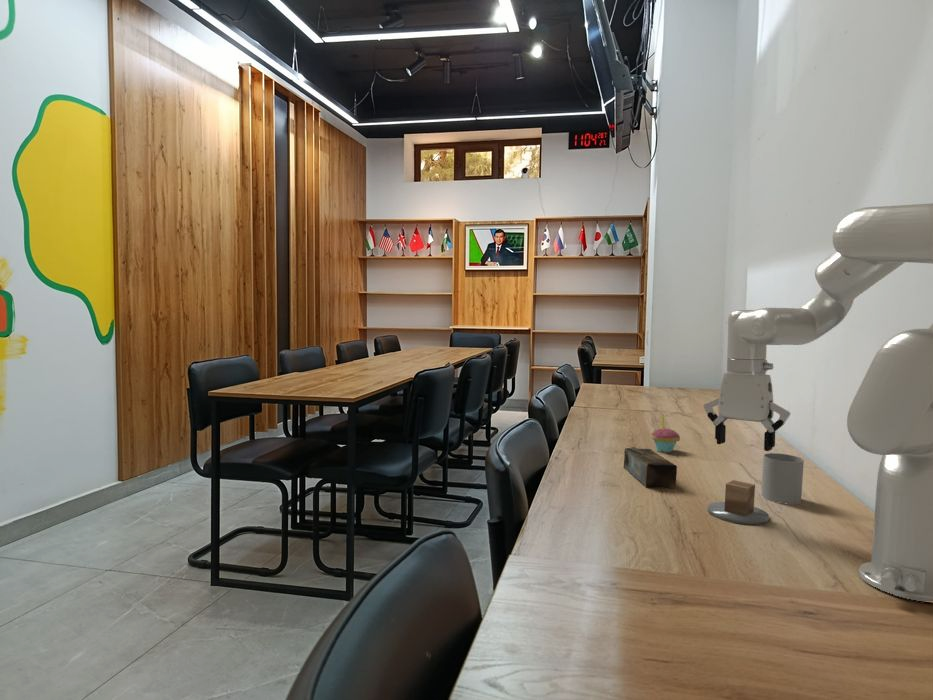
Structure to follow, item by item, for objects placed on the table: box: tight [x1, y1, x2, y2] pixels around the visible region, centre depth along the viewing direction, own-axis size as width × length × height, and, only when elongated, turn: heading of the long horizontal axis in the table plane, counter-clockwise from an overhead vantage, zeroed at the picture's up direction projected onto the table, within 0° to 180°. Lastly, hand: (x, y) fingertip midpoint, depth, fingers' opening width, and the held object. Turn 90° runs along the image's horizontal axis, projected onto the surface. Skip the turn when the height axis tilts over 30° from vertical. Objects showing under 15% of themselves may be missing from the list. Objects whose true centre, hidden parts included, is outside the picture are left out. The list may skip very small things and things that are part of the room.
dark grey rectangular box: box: [623, 446, 678, 489], centre depth 150 cm, size 8×19×7 cm, turn 1°
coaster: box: [707, 501, 770, 525], centre depth 123 cm, size 12×12×1 cm
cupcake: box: [651, 412, 681, 453], centre depth 181 cm, size 9×8×12 cm
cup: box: [760, 452, 805, 505], centre depth 135 cm, size 8×8×10 cm
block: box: [724, 479, 756, 516], centre depth 123 cm, size 4×4×6 cm
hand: (743, 446), depth 122 cm, fingers open, 9 cm apart
